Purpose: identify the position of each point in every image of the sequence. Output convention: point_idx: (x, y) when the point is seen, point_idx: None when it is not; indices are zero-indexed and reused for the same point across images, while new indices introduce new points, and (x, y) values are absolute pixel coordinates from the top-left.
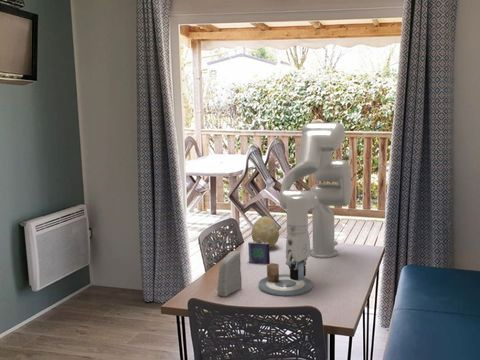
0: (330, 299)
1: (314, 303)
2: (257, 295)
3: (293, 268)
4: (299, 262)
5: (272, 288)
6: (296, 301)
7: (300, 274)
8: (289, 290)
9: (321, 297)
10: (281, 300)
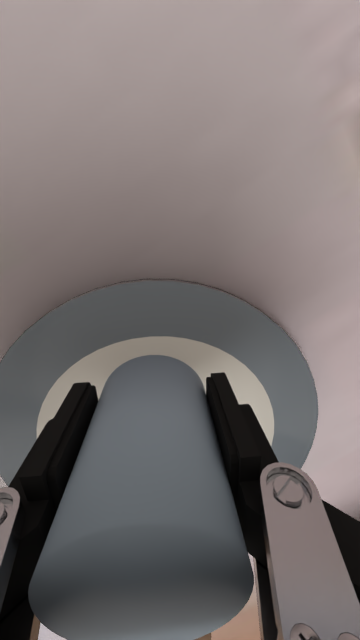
0: (180, 21)
1: (320, 110)
2: (341, 451)
3: (332, 507)
4: (101, 592)
5: None
6: (337, 249)
7: (184, 396)
8: (245, 366)
9: (186, 129)
10: (357, 331)
